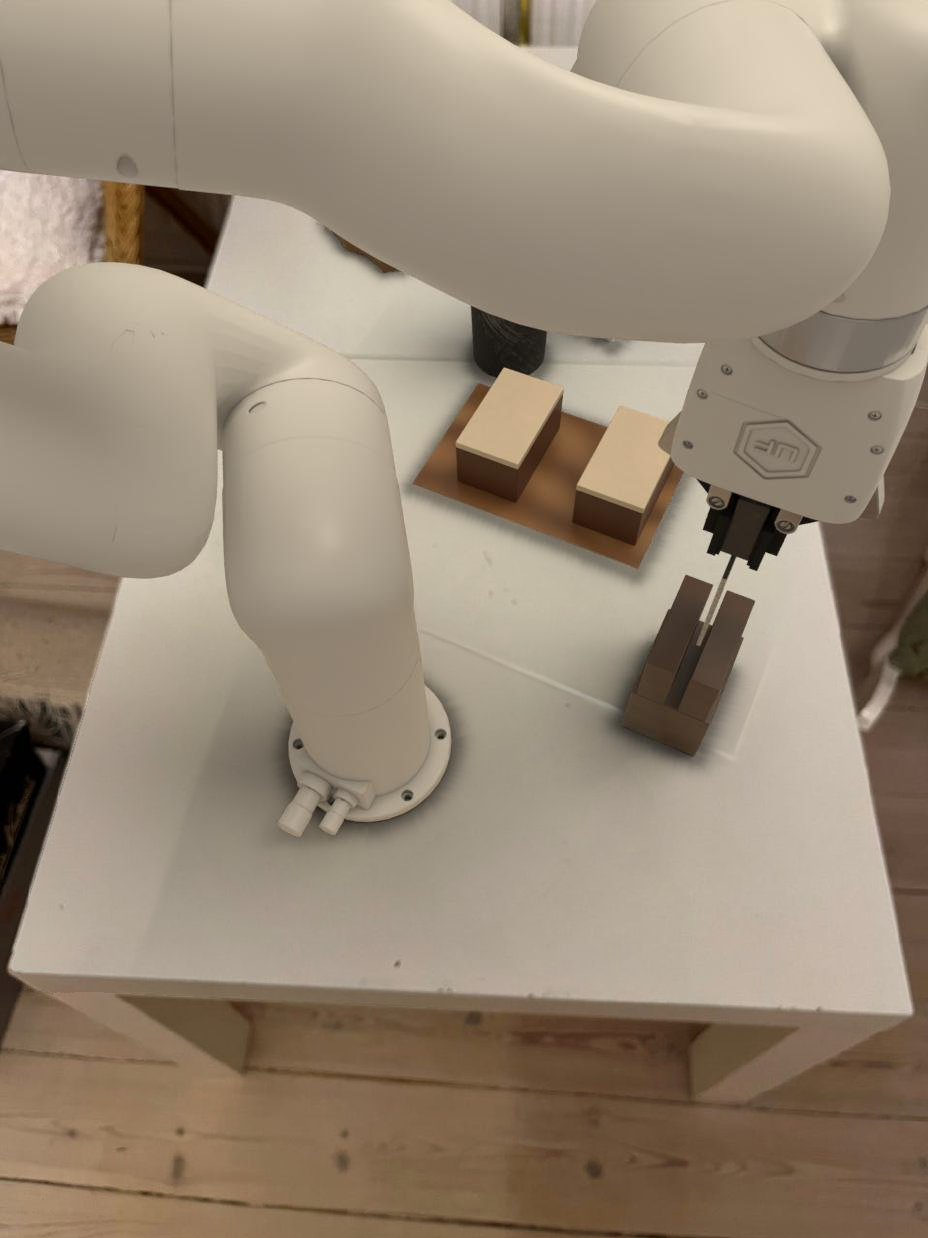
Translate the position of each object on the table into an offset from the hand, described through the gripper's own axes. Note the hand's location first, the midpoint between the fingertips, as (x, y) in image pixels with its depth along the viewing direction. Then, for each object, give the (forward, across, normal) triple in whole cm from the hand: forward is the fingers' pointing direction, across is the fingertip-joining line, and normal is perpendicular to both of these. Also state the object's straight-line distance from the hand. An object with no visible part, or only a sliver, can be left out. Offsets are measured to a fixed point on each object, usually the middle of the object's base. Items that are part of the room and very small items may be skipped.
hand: (739, 543), depth 55 cm
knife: (+8, 0, 0) cm, 8 cm away
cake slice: (+21, -11, +17) cm, 29 cm away
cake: (+21, -23, +17) cm, 35 cm away
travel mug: (+22, -28, +29) cm, 46 cm away
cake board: (+21, -18, +17) cm, 33 cm away
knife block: (+21, 0, 0) cm, 21 cm away
